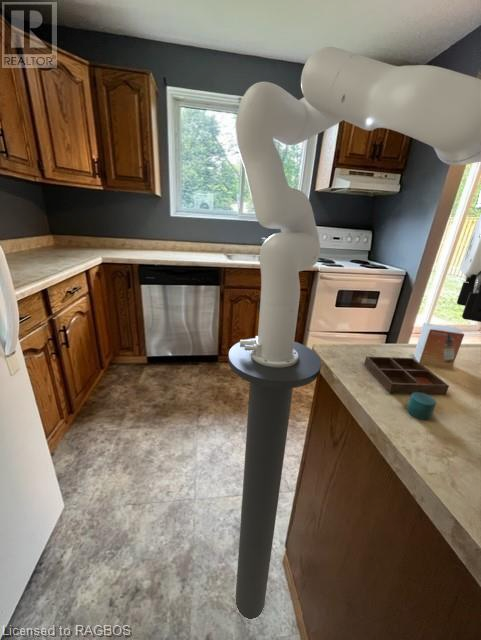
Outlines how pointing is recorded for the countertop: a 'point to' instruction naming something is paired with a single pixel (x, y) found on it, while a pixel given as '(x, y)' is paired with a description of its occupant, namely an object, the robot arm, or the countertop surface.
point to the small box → (438, 345)
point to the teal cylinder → (421, 406)
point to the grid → (405, 376)
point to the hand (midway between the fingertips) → (470, 312)
